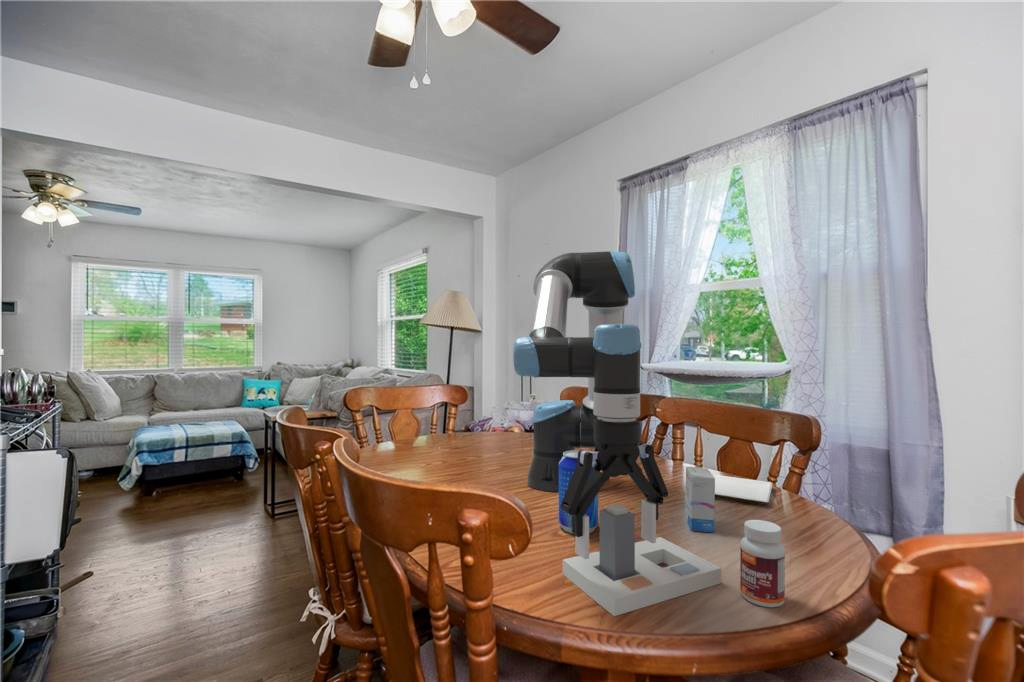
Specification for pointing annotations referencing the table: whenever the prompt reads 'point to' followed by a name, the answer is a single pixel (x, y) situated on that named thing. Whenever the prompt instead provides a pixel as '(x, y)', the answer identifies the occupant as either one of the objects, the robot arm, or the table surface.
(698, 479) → the ink box
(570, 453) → the beer can
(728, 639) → the table surface
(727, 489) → the plate
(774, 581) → the pill bottle
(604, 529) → the plug
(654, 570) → the socket board
